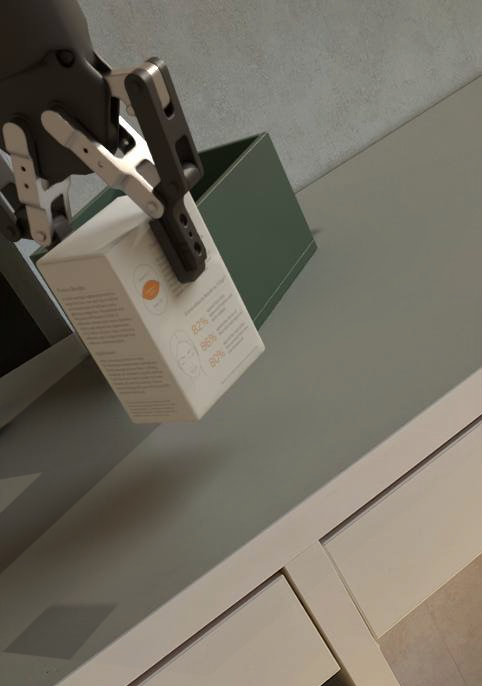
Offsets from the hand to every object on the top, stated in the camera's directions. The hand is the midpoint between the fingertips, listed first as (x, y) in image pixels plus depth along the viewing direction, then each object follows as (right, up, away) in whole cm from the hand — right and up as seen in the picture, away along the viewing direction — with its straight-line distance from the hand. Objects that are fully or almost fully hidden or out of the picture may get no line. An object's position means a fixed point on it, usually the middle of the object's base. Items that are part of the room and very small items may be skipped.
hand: (146, 286), depth 60 cm
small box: (+2, -5, +5) cm, 7 cm away
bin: (-4, +9, +28) cm, 30 cm away
